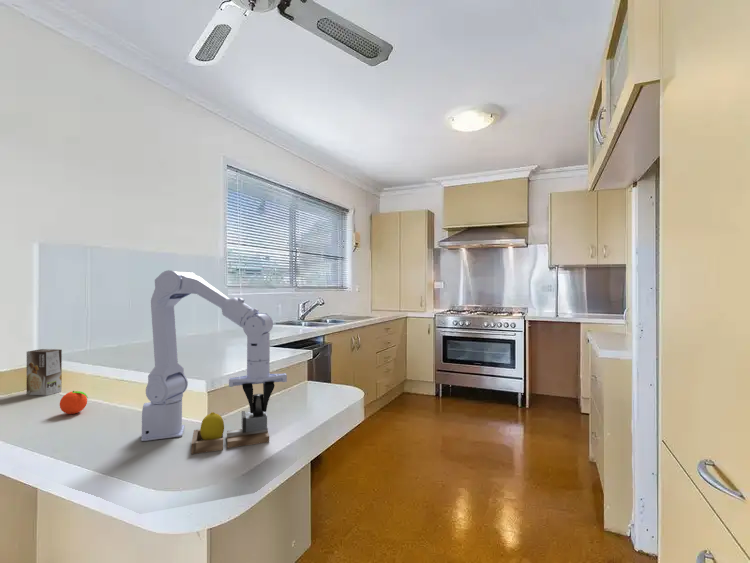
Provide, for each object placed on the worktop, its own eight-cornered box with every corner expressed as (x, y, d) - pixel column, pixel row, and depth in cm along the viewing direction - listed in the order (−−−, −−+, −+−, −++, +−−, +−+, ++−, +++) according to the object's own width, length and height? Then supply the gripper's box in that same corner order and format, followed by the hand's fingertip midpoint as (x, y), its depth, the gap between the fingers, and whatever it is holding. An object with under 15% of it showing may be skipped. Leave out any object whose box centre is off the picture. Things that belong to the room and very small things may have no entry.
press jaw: (242, 432, 99) (242, 399, 99) (241, 425, 104) (241, 393, 104) (267, 429, 101) (267, 397, 101) (264, 422, 106) (264, 391, 106)
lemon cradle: (191, 454, 93) (191, 443, 93) (193, 439, 102) (193, 430, 102) (223, 449, 95) (223, 439, 95) (222, 436, 104) (222, 426, 104)
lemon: (215, 449, 96) (215, 416, 96) (195, 447, 97) (195, 415, 97) (228, 440, 101) (228, 409, 101) (209, 439, 102) (209, 408, 102)
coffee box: (62, 391, 149) (63, 349, 149) (46, 396, 143) (46, 351, 143) (42, 390, 151) (42, 348, 151) (24, 394, 144) (25, 351, 144)
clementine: (95, 409, 127) (96, 387, 127) (80, 417, 120) (80, 393, 120) (70, 410, 126) (70, 388, 126) (53, 417, 119) (53, 393, 119)
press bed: (227, 447, 96) (227, 437, 96) (226, 436, 104) (226, 427, 104) (269, 442, 100) (269, 432, 100) (265, 431, 107) (265, 422, 108)
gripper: (229, 364, 97) (229, 419, 97) (288, 360, 102) (288, 412, 102) (228, 359, 103) (228, 411, 103) (284, 355, 109) (284, 405, 108)
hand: (258, 411), depth 103 cm, fingers closed on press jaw, 3 cm apart
